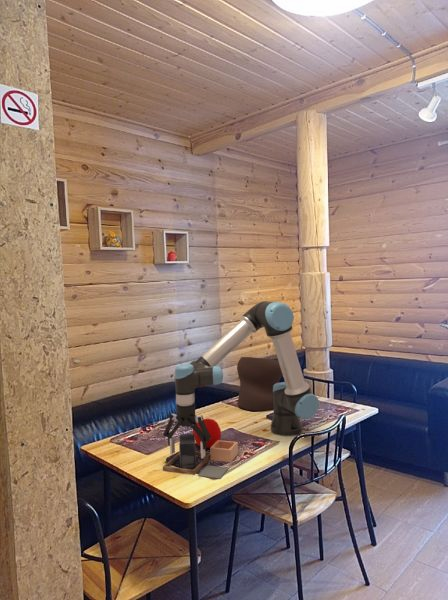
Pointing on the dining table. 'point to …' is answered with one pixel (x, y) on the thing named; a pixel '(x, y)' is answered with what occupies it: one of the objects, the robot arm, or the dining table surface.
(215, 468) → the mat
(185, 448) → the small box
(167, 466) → the tray
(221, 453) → the terracotta pot
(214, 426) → the red round ball
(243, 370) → the vase
